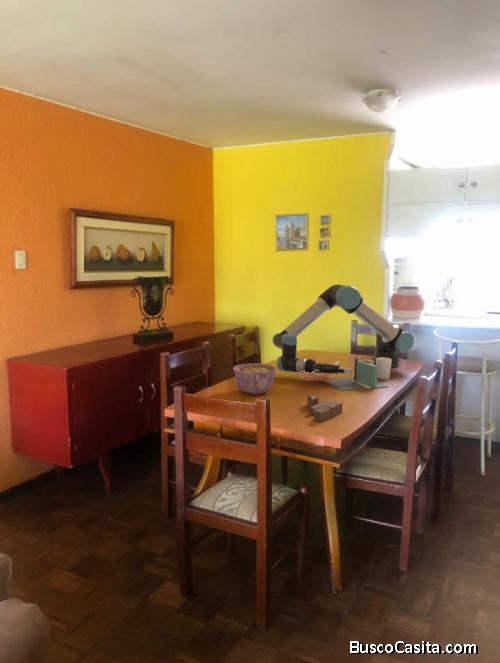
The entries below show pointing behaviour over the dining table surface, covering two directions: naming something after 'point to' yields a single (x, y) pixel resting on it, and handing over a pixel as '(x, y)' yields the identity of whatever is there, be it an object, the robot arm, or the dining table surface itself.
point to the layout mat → (352, 384)
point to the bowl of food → (254, 377)
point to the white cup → (383, 367)
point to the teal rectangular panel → (366, 373)
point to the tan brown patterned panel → (364, 362)
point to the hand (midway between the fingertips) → (351, 371)
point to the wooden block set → (323, 408)
